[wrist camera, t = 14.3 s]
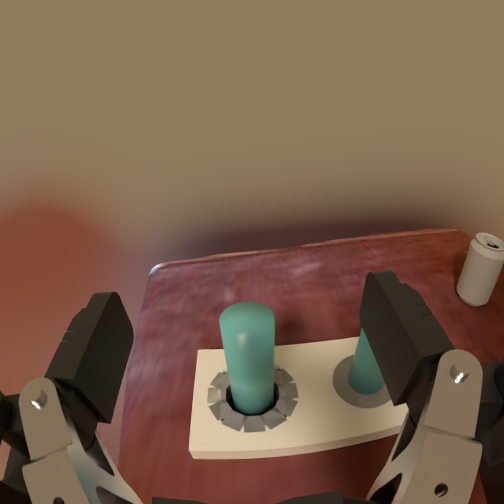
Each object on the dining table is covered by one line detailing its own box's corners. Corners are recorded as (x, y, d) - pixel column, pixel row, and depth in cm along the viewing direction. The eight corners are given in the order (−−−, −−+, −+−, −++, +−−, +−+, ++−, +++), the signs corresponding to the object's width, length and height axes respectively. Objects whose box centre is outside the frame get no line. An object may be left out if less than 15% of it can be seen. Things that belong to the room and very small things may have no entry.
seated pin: (360, 371, 34) (387, 283, 27) (385, 391, 30) (423, 304, 24) (335, 390, 32) (359, 301, 25) (361, 412, 28) (398, 328, 21)
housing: (201, 362, 37) (198, 349, 36) (388, 343, 37) (393, 330, 36) (193, 458, 25) (188, 449, 23) (425, 424, 25) (434, 413, 24)
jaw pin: (259, 384, 34) (254, 295, 27) (281, 408, 30) (286, 322, 23) (227, 400, 31) (210, 314, 25) (247, 428, 28) (237, 347, 21)
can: (462, 309, 41) (484, 249, 35) (449, 284, 47) (466, 228, 41) (492, 309, 40) (515, 252, 34) (478, 285, 46) (496, 231, 40)
